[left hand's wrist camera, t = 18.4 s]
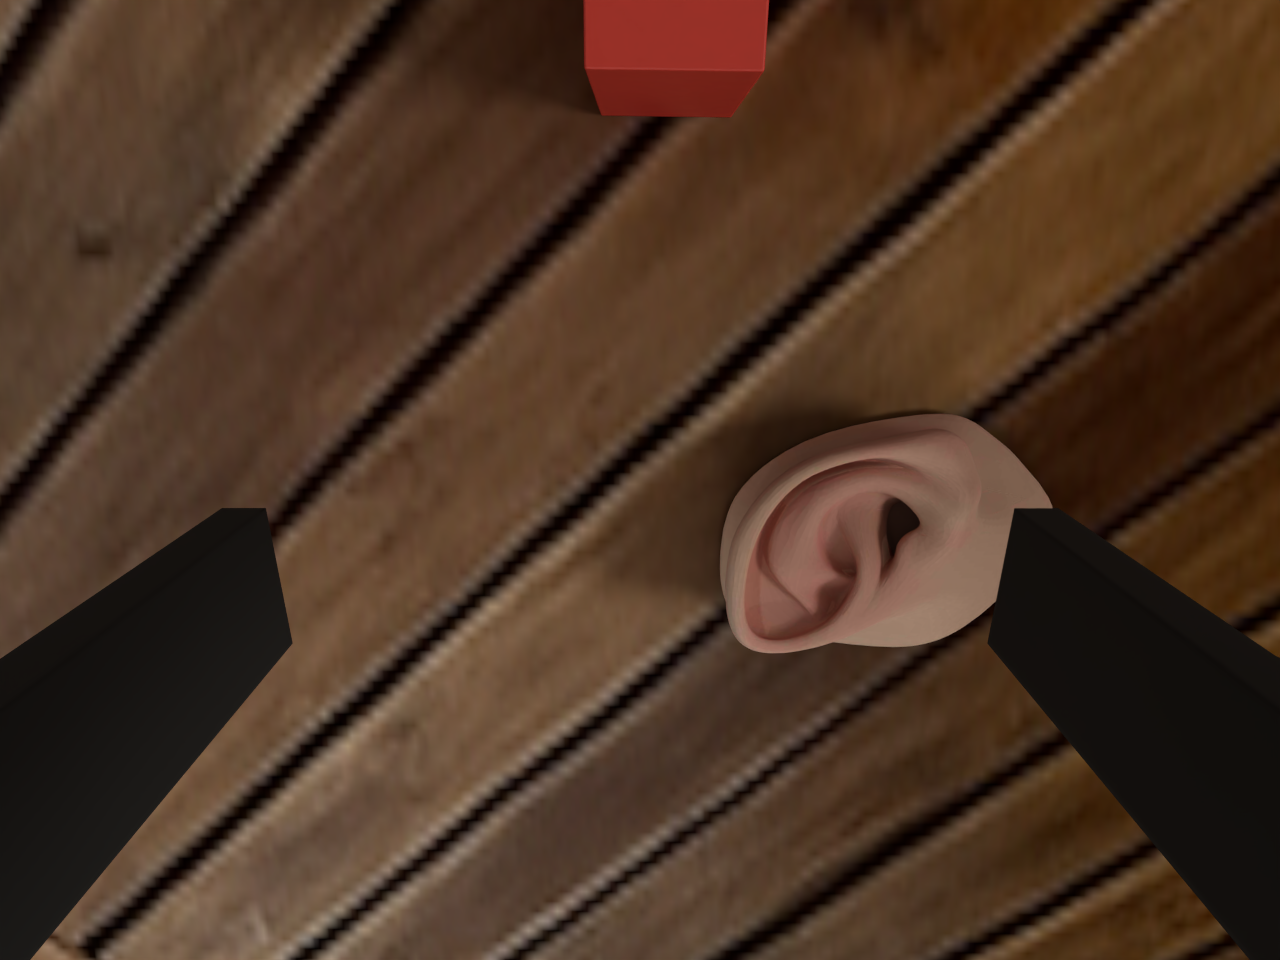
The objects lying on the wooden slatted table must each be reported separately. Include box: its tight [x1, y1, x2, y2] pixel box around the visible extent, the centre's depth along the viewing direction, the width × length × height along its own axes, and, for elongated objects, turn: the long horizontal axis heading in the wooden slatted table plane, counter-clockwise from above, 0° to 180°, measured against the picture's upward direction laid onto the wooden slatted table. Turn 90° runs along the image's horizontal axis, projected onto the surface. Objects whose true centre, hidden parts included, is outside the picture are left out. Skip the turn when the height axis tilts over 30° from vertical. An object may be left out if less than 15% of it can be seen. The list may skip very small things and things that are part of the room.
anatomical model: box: [720, 414, 1052, 653], centre depth 28 cm, size 13×4×12 cm
